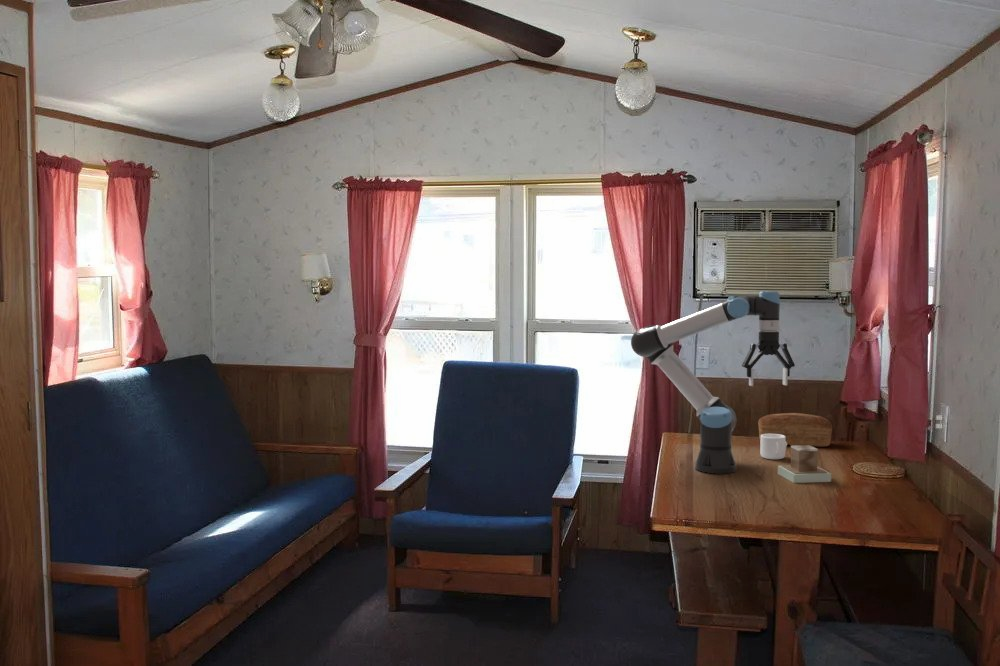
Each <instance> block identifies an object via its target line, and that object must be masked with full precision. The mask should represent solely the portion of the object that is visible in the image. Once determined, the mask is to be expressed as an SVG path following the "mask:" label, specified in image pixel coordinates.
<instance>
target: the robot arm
mask: <svg viewBox="0 0 1000 666" xmlns="http://www.w3.org/2000/svg"><path fill="white" fill-rule="evenodd" d="M780 300H781V299H780V293H779V292H778V291H777V290H776V291H775V290H762V291H759V294H758V295H757V296H755V295H754V296H751V295H750V296H748V295H734V296H733V295H732V296H731V295H730V296H728V298H727V299H726V301H724V302H722V303H719V304H716V305H714V306H711V307H708V308H706V309H704V310H700V311H697V312H695V313H693V314H690V315H688V316H685V317H682V318H679V319H676V320H674V321H671V322H669V323H666V324H664V325H659V324H656V325H647V326H645V327H642V328H639V329H637V330H636V331H635V332H634V333H633V335H632V337H631V339H630V345H631V349H632V350H633V352H634V353H635V354H636V355H637V356H640V357H644V358H646V360H647V361H648V362H649V363H650V364H651V365H655V366H658V368H659V369H660V370H661V371H662V372H663V373H664V374H665V376H666V377H667V378H668V379H669V380H670V381H671V382H672V384H673V385H674V386H675V387H676V388H677V389H678V391H679V392H680V393H681V395H683V396H684V398H686V400H687V401H688V402H689V403H690V404H691V406H692V407H693V408H694V409H695V410H696V413H695V414H696V417H697V418H698V419H699V421H700V426H699V427H700V428H699V430H700V432H699V433H700V435H699V436H700V437H699V439H700V441H699V442H700V443H699V446H700V447H699V451H698V454H697V456H696V460H695V466H694V468H696V469H697V470H696V469H695V470H696V471H698V470H699V472H701V471H702V473H705V472H707V474H714V473H716V474H719V475H720V474H724V475H725V474H733V473H734V472H736V471H737V468H736V467H737V466H736V465H737V464H736V460H735V459H734V458H735V457H734V455H733V451H732V432H734V430H735V428H736V426H737V415H736V412H735V410H734V409H732V407H730V406H729V405H726V403H725V402H724V401H723V400H722V399H721V398H720V397H719V396H713V395H712V394H711V392H710V391H709V390H708V389H707V388H706V387H705V386H704V384H703V383H702V382H701V381H700V380H699V378H698V377H697V376H696V375H695V374H694V373H693V372H692V371H691V370H690V368H689V367H688V366H687V365H686V363H684V362H683V360H682V359H681V358H680V356H678V355H677V353H675V352H674V345H673V343H676V342H678V341H682V340H684V339H686V338H689V337H692V336H695V335H697V334H699V333H702V332H705V331H708V330H710V329H713V328H715V327H718V326H720V325H725V324H726V323H729V322H732V321H734V320H737V319H741V318H743V317H746V316H758V317H759V318H758V330H759V331H758V343H752V342H751V343H750V346H749V350H748V352H747V354H746V356H745V358H744V360H743V362H742V364H741V367H743V368H745V369H746V377H747V378H748V386H750V387H754V368H753V367H754V366H755V364H757V363H758V361H759V360H760V359H761V358H762V357H763V356H764V355H765V356H769V355H770V356H775V357H776V358H777V359H778V361H779V362H780V363H781V365H782V366H783V367H782V385H783V386H788V378H789V377H790V373H791V372H790V371H791V369H792V368H794V367H795V366H796V364H795V362H794V360H793V357H792V356H791V354H790V351H789V350H788V344H787V343H785V342H781V343H780V342H779V341H780V332H779V330H780V309H781V308H780V306H781V305H780V304H781V303H780ZM757 349H758V351H757V352H756V354H755V356H754V353H755V351H756V350H757ZM779 349H781V350H782V353H783V355H784V357H785V358H784V357H783V356H782V354H781V353H780V351H779ZM753 356H754V357H753Z"/></svg>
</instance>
